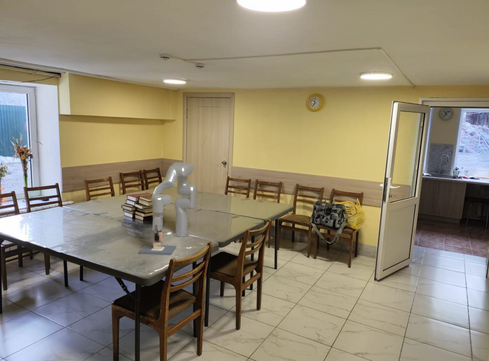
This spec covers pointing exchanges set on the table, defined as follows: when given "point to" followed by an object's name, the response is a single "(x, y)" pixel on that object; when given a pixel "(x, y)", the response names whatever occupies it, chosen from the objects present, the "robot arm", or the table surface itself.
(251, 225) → the table surface
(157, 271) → the table surface
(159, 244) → the maple cube
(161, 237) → the terracotta cube
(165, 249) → the slate baseplate
